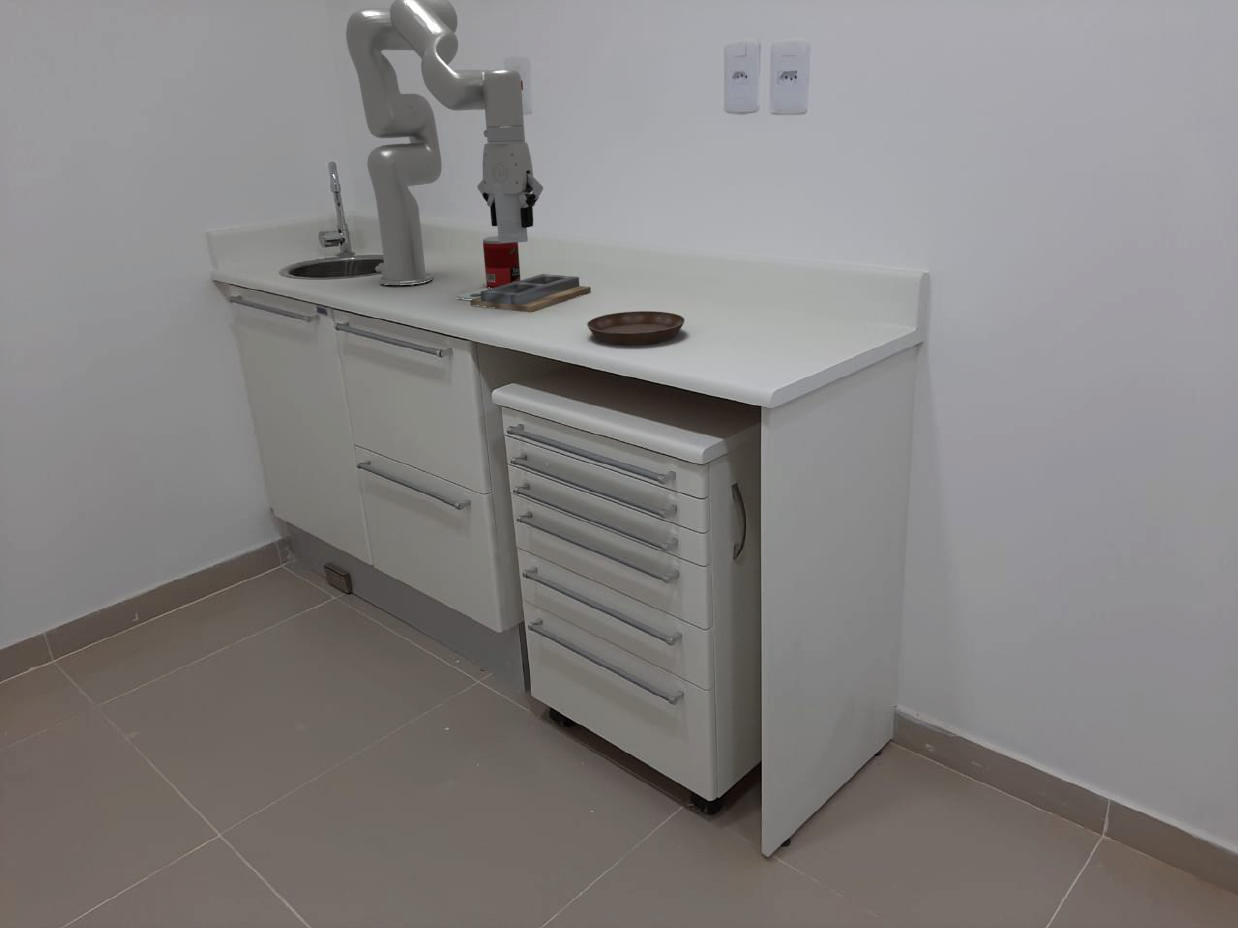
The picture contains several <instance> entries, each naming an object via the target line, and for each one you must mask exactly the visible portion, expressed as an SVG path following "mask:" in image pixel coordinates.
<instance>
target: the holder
mask: <svg viewBox="0 0 1238 928" xmlns="http://www.w3.org/2000/svg"><path fill="white" fill-rule="evenodd" d="M480 293H481V297H479V298H475V299H472V300H470V301H469V302H470V306H471V305H479V306H486V307H485V308H488V307H495V308H494V309H497V308H502V309H501V310H506V309H510V310H509V311H515V310H516V311H517V312H525V313H526V312H527V313H532V312H536V311H539V310H542V309H545V308H548V307H552V306H553V305H557V304H560V303H563V302H566V301H568V299H569V300H572V299H575V298H577V296H578V297H581V296H585V295H587V294H590V293H592V289H591V286H583V285H580V276H573V275H572V276H571V275H560V274H559V275H558V274H547V273H541V274H539V275H535V276H531V277H526V278H524V279H520V281H516V282H513V283H509V284H506V285H502V286H499V287H495V288H492V289H490V288H488V290H485V291H481V292H480ZM580 295H581V296H580ZM574 297H575V298H574ZM571 298H572V299H571ZM479 306H478V307H479ZM516 311H515V312H516Z"/></svg>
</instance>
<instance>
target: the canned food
mask: <svg viewBox="0 0 1238 928" xmlns="http://www.w3.org/2000/svg"><path fill="white" fill-rule="evenodd" d="M482 248H483V249H482V250H483V260H484V261H483V262H484V271H485V273H484V274H485V283H486V287H487V288H488V287H490V288H495V287H499V286H502V285H506V284H509V283H513V282H516V281H520V280H521V267H520V265H521V264H520V253H519V242H512V243H499V239H498V235H497V236H489V237H485V238H483V239H482ZM490 288H489V289H490Z"/></svg>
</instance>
